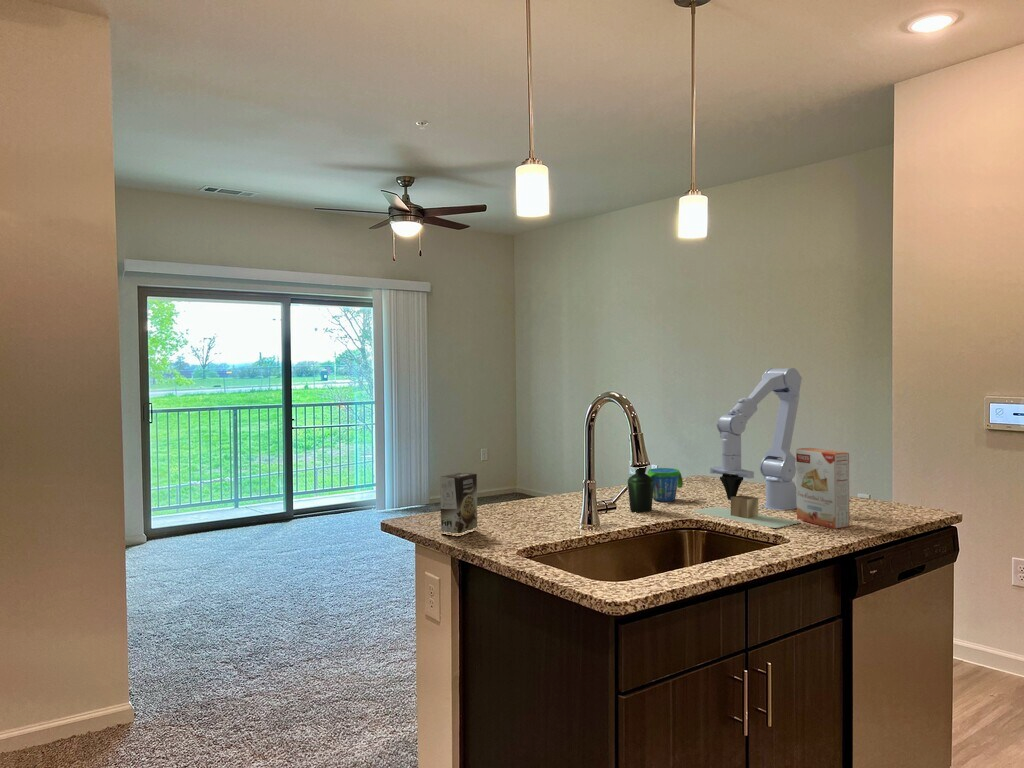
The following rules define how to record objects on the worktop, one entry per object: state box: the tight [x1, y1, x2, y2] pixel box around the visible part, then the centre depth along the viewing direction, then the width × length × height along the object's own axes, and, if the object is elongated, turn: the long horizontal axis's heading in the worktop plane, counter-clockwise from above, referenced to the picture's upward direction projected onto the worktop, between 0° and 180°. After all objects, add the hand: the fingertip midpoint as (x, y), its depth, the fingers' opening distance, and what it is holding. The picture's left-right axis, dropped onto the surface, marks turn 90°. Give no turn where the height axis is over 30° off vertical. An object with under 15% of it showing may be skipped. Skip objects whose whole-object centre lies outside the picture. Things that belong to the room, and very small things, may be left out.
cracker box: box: [795, 447, 850, 530], centre depth 205 cm, size 14×6×21 cm, turn 23°
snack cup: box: [647, 467, 684, 502], centre depth 245 cm, size 16×10×10 cm
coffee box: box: [440, 472, 478, 533], centre depth 200 cm, size 9×6×16 cm
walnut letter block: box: [730, 494, 759, 519], centre depth 215 cm, size 5×6×6 cm
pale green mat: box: [689, 506, 802, 529], centre depth 215 cm, size 12×30×1 cm, turn 35°
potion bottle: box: [627, 462, 654, 514], centre depth 226 cm, size 8×8×18 cm
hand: (731, 499), depth 219 cm, fingers closed
